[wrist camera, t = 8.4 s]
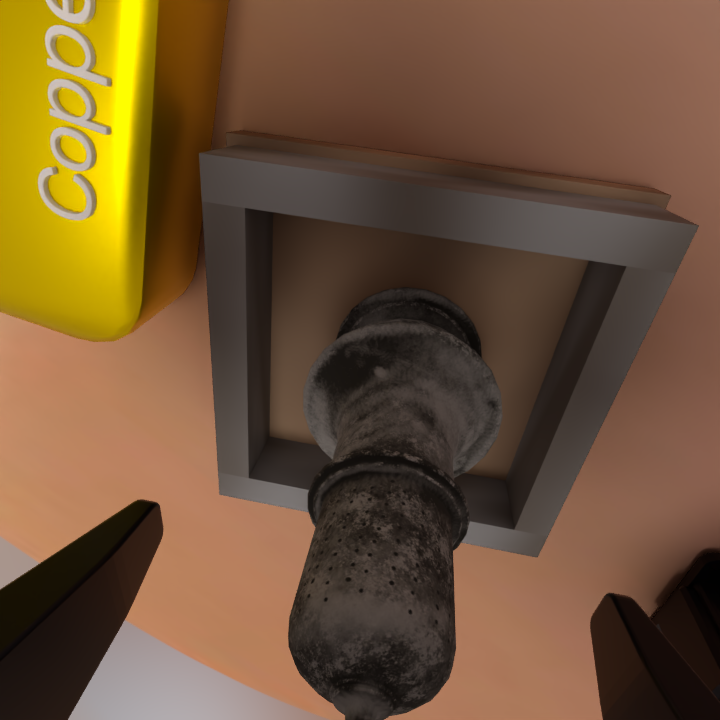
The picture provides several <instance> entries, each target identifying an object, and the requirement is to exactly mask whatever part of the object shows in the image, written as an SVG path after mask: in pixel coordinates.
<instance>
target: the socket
mask: <svg viewBox="0 0 720 720" xmlns="http://www.w3.org/2000/svg"><path fill="white" fill-rule="evenodd" d="M199 162H200V179H201V195H202V212H203V229H204V245H205V262H206V278H207V295H208V312H209V328H210V345H211V361H212V378H213V394H214V411H215V428H216V444H217V461H218V477H219V494H220V495H224V496H229V497H234V498H239V499H244V500H249V501H254V502H259V503H264V504H269V505H275V506H280V507H285V508H290V509H295V510H300V511H305V512H309V511H308V492H309V489H310V486H311V484H312V481H313V479H314V477H315V476H316V475H317V474H318V473H319V471H320V470H321V469H322V468H323V467H324V466H325V465H326V464H328V463H330V462H332V459H331V458H330V457H329V456H328V455H327V454H326V453H325V452H324V451H323V450H322V449H321V448H320V446H319V445H318V443H317V442H316V440H315V439H314V437H313V435H312V434H311V432H310V431H309V428H308V424H307V421H306V418H305V415H304V411H303V389H304V386H305V383H306V380H307V377H308V374H309V371H310V368H311V366H312V365H313V364H314V362H315V361H316V360H317V358H318V357H319V355H320V354H321V353H322V351H323V350H324V349H325V348H326V347H328V346H329V345H330V344H332V343H333V342H334V341H336V338H337V335H338V332H339V329H340V326H341V324H342V322H343V321H344V319H345V318H346V317H347V315H348V314H349V312H350V311H351V310H352V309H353V308H354V307H355V306H356V305H358V304H359V303H360V302H362V301H363V300H364V299H365V298H367V297H369V296H371V295H374V294H376V293H379V292H381V291H384V290H388V289H395V288H402V287H409V288H418V289H426V290H429V291H431V292H434V293H437V294H439V295H442V296H445V297H446V298H448V299H449V300H451V301H452V302H453V303H455V304H456V305H458V306H459V307H460V308H462V310H463V311H464V312H465V313H466V315H467V316H468V317H469V318H470V320H471V321H472V322H473V323H474V326H475V328H476V331H477V333H478V336H479V338H480V341H481V352H482V359H483V361H484V362H485V363H486V364H487V365H488V367H489V368H490V369H491V370H492V373H493V375H494V377H495V380H496V382H497V385H498V387H499V390H500V392H501V400H502V415H503V417H502V421H501V425H500V429H499V432H498V436H497V439H496V440H495V442H494V443H493V445H492V446H491V448H490V449H489V451H488V453H487V454H486V456H485V457H484V458H482V459H481V460H480V461H479V462H478V463H477V464H476V465H474V466H473V467H472V468H471V469H470V470H469V471H467V472H465V473H463V474H461V475H459V476H457V477H455V478H454V481H455V482H456V483H457V484H458V485H459V486H460V488H461V490H462V492H463V494H464V496H465V498H466V500H467V502H468V508H469V516H470V522H469V526H468V530H467V534H466V536H465V538H464V539H463V540H462V542H461V543H466V544H472V545H477V546H482V547H487V548H492V549H497V550H502V551H507V552H512V553H517V554H522V555H527V556H532V557H538V555H539V553H540V551H541V549H542V547H543V545H544V543H545V541H546V539H547V537H548V535H549V533H550V531H551V529H552V527H553V525H554V522H555V520H556V518H557V516H558V514H559V512H560V510H561V508H562V506H563V504H564V502H565V500H566V498H567V496H568V494H569V492H570V490H571V488H572V485H573V483H574V481H575V479H576V477H577V475H578V473H579V471H580V469H581V467H582V465H583V463H584V461H585V459H586V457H587V455H588V453H589V451H590V448H591V446H592V444H593V442H594V440H595V438H596V436H597V434H598V432H599V430H600V428H601V426H602V424H603V422H604V420H605V418H606V416H607V414H608V411H609V409H610V407H611V405H612V403H613V401H614V399H615V397H616V395H617V393H618V391H619V389H620V387H621V385H622V383H623V381H624V379H625V377H626V375H627V372H628V370H629V368H630V366H631V364H632V362H633V360H634V358H635V356H636V354H637V352H638V350H639V348H640V346H641V344H642V342H643V340H644V338H645V335H646V333H647V331H648V329H649V327H650V325H651V323H652V321H653V319H654V317H655V315H656V313H657V311H658V309H659V307H660V305H661V303H662V301H663V298H664V296H665V294H666V292H667V290H668V288H669V286H670V284H671V282H672V280H673V278H674V276H675V274H676V272H677V270H678V268H679V266H680V264H681V261H682V259H683V257H684V255H685V253H686V251H687V249H688V247H689V245H690V243H691V241H692V239H693V237H694V235H695V233H696V231H697V229H698V227H699V226H698V225H696V224H694V223H692V222H690V221H688V220H686V219H684V218H682V217H680V216H678V215H675V214H673V213H671V212H669V211H667V210H665V208H666V206H667V204H668V202H669V199H670V197H671V195H668V194H666V193H663V192H661V191H659V190H656V189H653V188H646V187H639V186H632V185H625V184H618V183H611V182H604V181H597V180H590V179H582V178H575V177H568V176H561V175H554V174H547V173H540V172H533V171H526V170H519V169H511V168H504V167H497V166H490V165H483V164H476V163H469V162H462V161H455V160H448V159H440V158H433V157H426V156H419V155H412V154H405V153H398V152H391V151H384V150H377V149H369V148H362V147H355V146H348V145H341V144H334V143H327V142H320V141H313V140H306V139H298V138H291V137H284V136H277V135H270V134H263V133H256V132H249V131H242V130H240V131H233V132H227V133H226V147H224V148H220V149H215V150H211V151H206V152H202V153H199Z"/></svg>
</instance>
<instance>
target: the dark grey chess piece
mask: <svg viewBox="0 0 720 720" xmlns="http://www.w3.org/2000/svg"><path fill="white" fill-rule="evenodd" d="M303 411H304V415H305V418H306V421H307V424H308V428H309V431H310V432H311V434H312V435H313V437H314V439H315V440H316V442H317V443H318V445H319V446H320V448H321V449H322V450H323V451H324V452H325V453H326V454H327V455H328V456H329V457H330V458H331V459H332V462H330V463H328V464H326V465H325V466H324V467H323V468H322V469H321V470H320V471H319V473H318V474H317V475H316V476H315V477H314V479H313V481H312V484H311V486H310V489H309V492H308V511H309V514H310V517H311V520H312V523H313V524H314V526H315V527H316V528H315V531H314V535H313V538H312V542H311V545H310V549H309V552H308V555H307V559H306V562H305V566H304V569H303V573H302V576H301V579H300V583H299V586H298V590H297V593H296V597H295V600H294V603H293V607H292V610H291V614H290V618H289V632H288V640H289V648H290V651H291V654H292V657H293V660H294V662H295V665H296V667H297V669H298V671H299V673H300V675H301V676H302V677H303V678H304V679H305V680H306V681H307V682H308V684H309V685H310V686H311V687H312V688H313V689H314V690H315V691H316V692H317V693H318V694H319V695H321V696H322V697H323V698H325V699H326V700H328V701H329V702H331V703H333V704H334V706H335V707H336V709H337V710H338V711H340V712H341V713H342V714H344V715H345V720H384V719H386V718H388V717H389V716H392V715H399V714H403V713H407V712H409V711H411V710H413V709H415V708H417V707H419V706H421V705H423V704H425V703H427V702H429V701H431V700H432V699H433V698H434V697H435V696H436V694H437V693H438V692H439V691H440V690H441V688H442V687H443V686H444V684H445V683H446V682H447V680H448V679H449V677H450V673H451V670H452V667H453V661H454V656H455V651H456V635H455V603H454V571H453V550H455V549H456V548H457V547H458V546H459V545H460V543H461V542H462V540H463V539H464V538H465V536H466V534H467V530H468V526H469V522H470V516H469V508H468V502H467V500H466V498H465V496H464V494H463V492H462V490H461V488H460V486H459V485H458V484H457V483H456V482H455V481H454V478H455V477H457V476H459V475H461V474H463V473H465V472H467V471H469V470H470V469H471V468H472V467H473V466H474V465H476V464H477V463H478V462H479V461H480V460H481V459H482V458H484V457H485V456H486V454H487V453H488V451H489V449H490V448H491V446H492V445H493V443H494V442H495V440H496V439H497V436H498V432H499V429H500V425H501V421H502V417H503V415H502V400H501V392H500V390H499V387H498V385H497V382H496V380H495V377H494V375H493V373H492V370H491V369H490V368H489V367H488V365H487V364H486V363H485V362H484V361H483V359H482V352H481V341H480V338H479V336H478V333H477V331H476V328H475V326H474V323H473V322H472V321H471V320H470V318H469V317H468V316H467V315H466V313H465V312H464V311H463V310H462V308H460V307H459V306H458V305H456V304H455V303H453V302H452V301H451V300H449V299H448V298H446V297H445V296H442V295H439V294H437V293H434V292H431V291H429V290H426V289H418V288H409V287H402V288H395V289H388V290H384V291H381V292H379V293H376V294H374V295H371V296H369V297H367V298H365V299H364V300H363V301H362V302H360V303H359V304H358V305H356V306H355V307H354V308H353V309H352V310H351V311H350V312H349V314H348V315H347V317H346V318H345V319H344V321H343V322H342V324H341V326H340V329H339V332H338V335H337V338H336V341H334V342H333V343H332V344H330V345H329V346H328V347H326V348H325V349H324V350H323V351H322V353H321V354H320V355H319V357H318V358H317V360H316V361H315V362H314V364H313V365H312V366H311V368H310V371H309V374H308V377H307V380H306V383H305V386H304V389H303Z"/></svg>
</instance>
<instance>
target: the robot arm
mask: <svg viewBox="0 0 720 720" xmlns="http://www.w3.org/2000/svg"><path fill="white" fill-rule="evenodd" d="M162 536H163V522H162V516H161V510H160V505H159V504H158V503H157V502H153V501H148V500H142V499H140V500H137V501H135V502H133V503H131V504H130V505H128V506H127V507H125V508H124V509H122V510H121V511H119V512H118V513H116V514H115V515H113V516H112V517H110V518H108V519H107V520H105V521H104V522H102V523H101V524H99V525H98V526H96V527H95V528H93V529H92V530H90V531H89V532H87V533H86V534H84V535H83V536H81V537H79V538H78V539H76V540H75V541H73V542H72V543H70V544H69V545H67V546H66V547H64V548H63V549H61V550H60V551H58V552H57V553H55V554H54V555H52V556H50V557H49V558H47V559H46V560H44V561H43V562H41V563H40V564H38V565H37V566H36V567H34V568H32V569H31V570H29V571H28V572H26V573H24V574H23V575H21V576H20V577H18V578H17V579H15V580H14V581H12V582H11V583H9V584H8V585H6V586H5V587H3V588H2V589H0V720H68V718H69V716H70V715H71V713H72V711H73V710H74V708H75V706H76V704H77V703H78V701H79V699H80V697H81V696H82V694H83V692H84V690H85V689H86V687H87V685H88V683H89V681H90V680H91V678H92V676H93V675H94V673H95V671H96V669H97V668H98V666H99V664H100V662H101V661H102V659H103V657H104V655H105V654H106V652H107V650H108V648H109V647H110V645H111V643H112V641H113V640H114V638H115V636H116V634H117V633H118V631H119V629H120V627H121V626H122V624H123V622H124V620H125V618H126V616H127V615H128V612H129V610H130V608H131V606H132V604H133V602H134V600H135V598H136V595H137V593H138V591H139V589H140V586H141V584H142V582H143V580H144V577H145V575H146V573H147V571H148V568H149V566H150V564H151V562H152V560H153V557H154V555H155V553H156V551H157V548H158V546H159V544H160V542H161V539H162ZM590 629H591V637H592V645H593V652H594V660H595V667H596V675H597V682H598V690H599V698H600V705H601V711H602V717H603V720H720V553H715V552H711V553H706V554H704V555H702V556H701V557H700V558H699V559H698V561H697V562H696V563H695V565H694V566H693V567H692V569H691V570H690V571H689V572H688V574H687V575H686V576H685V578H684V579H683V580H682V581H681V583H680V584H679V585H678V587H677V588H676V589H675V591H674V592H673V593H672V594H671V596H670V597H669V598H668V600H667V601H666V602H665V604H664V605H663V606H662V607H661V609H660V610H659V611H658V613H657V614H656V615H655V617H654V618H653V619H652V620H651V619H650V618H649V617H648V616H647V614H646V613H645V612H644V611H643V610H642V609H641V607H640V606H639V605H638V604H637V603H636V602H635V601H634V600H633V599H632V598H631V597H628V596H625V595H620V594H615V593H608V594H606V595H605V596H604V598H603V599H602V601H601V602H600V604H599V606H598V607H597V609H596V610H595V612H594V613H593V615H592V617H591V622H590Z"/></svg>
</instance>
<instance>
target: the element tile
mask: <svg viewBox="0 0 720 720" xmlns="http://www.w3.org/2000/svg"><path fill="white" fill-rule="evenodd" d="M228 2H229V0H0V312H2V313H5V314H8V315H10V316H13V317H16V318H19V319H22V320H25V321H28V322H31V323H34V324H37V325H40V326H43V327H46V328H48V329H51V330H54V331H57V332H60V333H63V334H66V335H69V336H72V337H75V338H78V339H83V340H88V341H93V342H105V341H116V340H119V339H121V338H123V337H125V336H127V335H129V334H130V333H132V332H134V331H135V330H136V329H137V328H139V327H140V326H141V325H143V324H144V323H145V322H147V321H148V320H149V319H151V318H152V317H153V316H154V315H156V314H157V313H158V312H160V311H161V310H162V309H164V308H165V307H166V306H168V305H169V304H170V303H171V302H173V301H174V300H175V299H177V298H178V297H179V296H181V295H182V294H183V293H184V292H185V290H186V289H187V287H188V286H189V284H190V283H191V281H192V279H193V276H194V272H195V269H196V265H197V257H198V249H199V241H200V232H201V224H202V216H203V212H202V195H201V179H200V162H199V153H202V152H206V151H210V150H211V142H212V134H213V126H214V117H215V109H216V101H217V93H218V84H219V76H220V68H221V60H222V51H223V43H224V35H225V27H226V19H227V10H228Z"/></svg>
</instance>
